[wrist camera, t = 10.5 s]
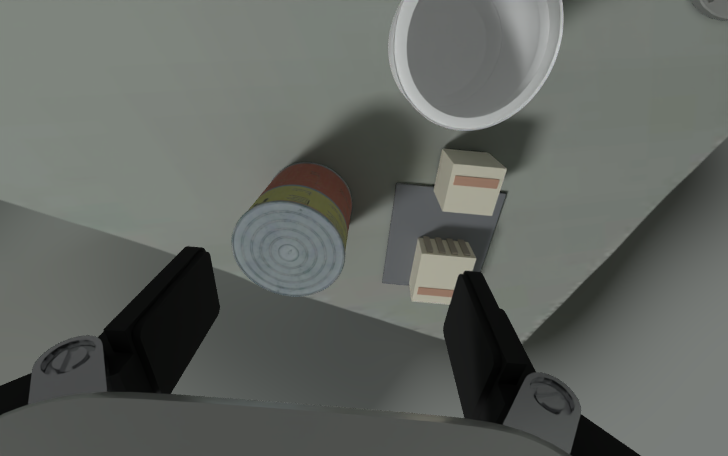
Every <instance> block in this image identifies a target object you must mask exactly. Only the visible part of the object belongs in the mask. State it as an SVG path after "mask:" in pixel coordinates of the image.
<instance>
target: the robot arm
mask: <svg viewBox="0 0 728 456" xmlns="http://www.w3.org/2000/svg"><path fill="white" fill-rule="evenodd" d="M691 1H692V3H693V5H694V6H695V7H696V8H697V9H698V11H699V12H700V13H702V14H704V15H706V16H707V17H709V18H712V19H716V20H721V21H728V0H691ZM219 310H220V305H219V299H218V294H217V289H216V284H215V279H214V273H213V268H212V262H211V257H210V254H209V252H206V251H205V249H204V248H201V247H189V246H188V247H185V248H184V249H183V250H182V251H181V252H180V253H179V254H178V255H177V256H176V257H175V258H174V259H173V260H172V261H171V262H170V263H169V264H168V265H167V266H166V267H165V268H164V269H163V270H162V271H161V272H160V273H159V274H158V275H157V276H156V277H155V278H154V279H153V280H152V281H151V282H150V283H149V284H148V285H147V286H146V287H145V288H144V289H143V290H142V291H141V292H140V293H139V294H138V295H137V296H136V297H135V298H134V299H133V300H132V301H131V302H130V303H129V304H128V305H127V306H126V307H125V308H124V309H123V310H122V312H120V313H119V314H118V316H116V318H114V319H113V320H112V321H111V322H110V323H109V324H108V325H107V326H106V328H104V332H103V333H102V334H101V335H100V336H99V337H98V338H97V337H96V336H89V335H86V336H78V337H74V338H70V339H68V340H65V341H63V342H60V343H58V344H56V345H55V346H53V347H51V348H50V349H48V350H47V351H46V352H44V353H43V354H42V355H41V356H40V357H39V358H38V359H37V361H36V362H35V364H34V366H33V369H32V373H31V374H28V375H26V376H23V377H21V378H18V379H16V380H13V381H11V382H9V383H6V384H4V385H1V386H0V456H640V455H639V454H637V453H636V452H635V451H633V450H632V449H630V448H629V447H627V446H626V445H625V444H623V443H622V442H620V441H619V440H617V439H616V438H614V437H613V436H612V435H610V434H609V433H607V432H606V431H604V430H603V429H602V428H600V427H599V426H597V425H596V424H594V423H593V422H591V421H590V420H589V419H587V418H586V417H584V416H583V415H581V406H580V403H579V400H578V398H577V397H576V395H575V394H574V392H573V391H572V390H571V389H570V388H569V387H568V386H567V385H566V384H565V383H563V382H562V381H560V380H559V379H558V378H555V377H553V376H551V375H549V374H545V373H541V372H540V373H539V372H536V371H535V369H534V368H533V365H532V364H531V362H530V360H529V358H528V356H527V354H526V352H525V350H524V348H523V346H522V344H521V342H520V340H519V338H518V336H517V334H516V332H515V330H514V328H513V326H512V324H511V322H510V320H509V319H508V317H507V315H506V313H505V311H504V310H502V309H500V308H499V306H498V304H497V302H496V300H495V298H494V296H493V294H492V292H491V290H490V288H489V286H488V284H487V282H486V280H485V278H484V276H483V274H482V273H481V272H477V271H464V273H463V274H459V275H458V278H457V281H456V285H455V288H454V292H453V295H452V299H451V302H450V305H449V309H448V312H447V316H446V319H445V323H444V328H443V332H444V337H445V341H446V345H447V349H448V354H449V357H450V361H451V366H452V369H453V374H454V378H455V382H456V386H457V389H458V394H459V398H460V402H461V406H462V410H463V414H464V417H465V418H456V417H447V416H437V415H426V414H415V413H405V412H393V411H382V410H369V409H357V408H346V407H333V406H322V405H308V404H297V403H284V402H270V401H258V400H245V399H232V398H218V397H205V396H190V395H176V394H171V392H172V390H173V389H174V387H175V386H176V384H177V382H178V381H179V379H180V377H181V376H182V374H183V372H184V371H185V369H186V367H187V366H188V364H189V363H190V361H191V359H192V357H193V356H194V354H195V352H196V351H197V349H198V348H199V346H200V344H201V342H202V341H203V339H204V337H205V336H206V334H207V333H208V331H209V329H210V328H211V326H212V324H213V323H214V321H215V319H216V318H217V316H218V314H219Z"/></svg>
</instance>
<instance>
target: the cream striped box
mask: <svg viewBox="0 0 728 456" xmlns="http://www.w3.org/2000/svg"><path fill="white" fill-rule="evenodd" d="M475 262H476V257H475V255H474V253H473V251H472V249H471V247H470V245H469V243H468V242H465V241H464V240H461V239H458V241H453V239H450V238H446V240H441V238H439V237H435V239H430V238H429V237H428V236H423V238H418V240H417V245H416V250H415V255H414V260H413V265H412V270H411V275H410V281H409V286H410V293H411V299H412V301H415V302H426V303H438V304H450V302H451V299H452V295H453V292H454V288H455V285H456V281H457V278H458V275H459V274H463V273H464V271H473V268H474V265H475Z"/></svg>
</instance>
